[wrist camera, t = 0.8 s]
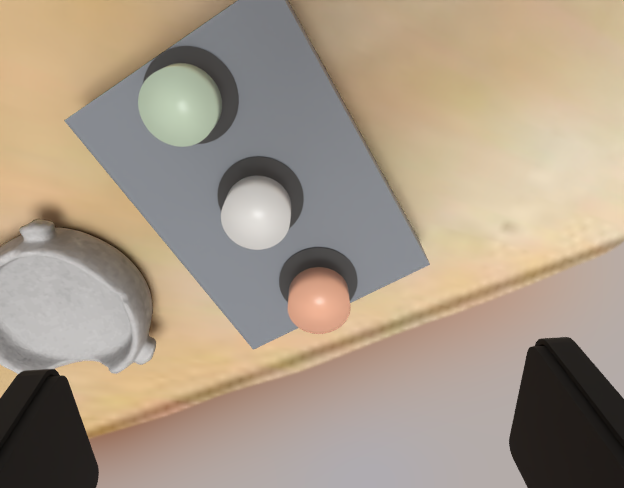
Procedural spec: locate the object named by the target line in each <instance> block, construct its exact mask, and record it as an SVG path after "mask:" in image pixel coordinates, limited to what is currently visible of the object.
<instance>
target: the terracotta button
mask: <svg viewBox="0 0 624 488" xmlns="http://www.w3.org/2000/svg"><path fill="white" fill-rule="evenodd" d="M288 314H289V317H290V319H291V320H292V322H293V323H294V324H295V325H296V326H297V327H298V328H300V329H302V330H304V331H306V332H309V333H314V334H323V333H328V332H332V331H334V330H336V329H338V328H339V327H341V326H342V325H343V324H344V323H345V322H346V320H347V318H348V316H349V314H350V299H349V292H348V286H347V283H346V281H345V280H344V278H343V277H342V276H341V275H340V274H338V273H337V272H335V271H334V270H331V269H328V268H323V267H314V268H309V269H306V270H304V271H302V272H300V273H299V274H298V275H297V276H296V277H295V278H294V279H293V280H292V282H291V284H290V287H289V296H288Z"/></svg>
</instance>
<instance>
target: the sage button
mask: <svg viewBox="0 0 624 488" xmlns="http://www.w3.org/2000/svg"><path fill="white" fill-rule="evenodd" d="M138 108H139V113H140V116H141V119H142V121H143V123H144V124H145V126H146V127H147V129H148V130H149V131H150V132H151V133H152V134H153V135H154V136H155V137H156V138H158V139H159V140H161V141H162V142H164V143H167V144H169V145H172V146H178V147H186V146H192V145H195V144H197V143H199V142H201V141H202V140H204V139H205V138H206V137H207V136H208V135H209V133H210V132H211V131H212V129H213V128H214V127H215V125H216V124H217V122H218V120H219V118H220V116H221V111H222V99H221V94H220V91H219V89H218V87H217V85H216V83H215V82H214V80H213V79H212V78H211V77H210V76H209V75H208V74H207V73H206V72H205V71H203V70H202V69H200V68H198V67H196V66H194V65H191V64H186V63H177V64H172V65H169V66H166V67H164V68H162V69H160V70H158V71H156V72H154V73H153V74H151V75H150V76H149V77H148V78H147V79H146V80H145V82H144V83H143V85H142V87H141V89H140V92H139V97H138Z"/></svg>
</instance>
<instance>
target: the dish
mask: <svg viewBox="0 0 624 488" xmlns="http://www.w3.org/2000/svg"><path fill="white" fill-rule="evenodd" d="M19 230H20V233H21V234H22V235H21V236H18V237H16V238H14V239H12V240H10V241H9V242H7V243H5V244H4V245H2V246H1V247H0V364H1V365H2V366H4V367H6V368H8V369H10V370H12V371H14V372H16V373H17V374H19V373H20V372H22V371H25V370H42V369H55V368H57V367H59V366H64V365H67V364H71V363H75V362H80V361H97V362H101V363H102V364H104V365H105V366H107V367H108V368H109V370H110V372H111V373H119V372H120V371H122V370H124V369H125V368H127V367H128V366H129V365H130V364H132V363H133V362H135V363H137V364H141V365H142V364H144V363H146V362H148V361H149V360H150V359H151V358H152V356H153V354H154V351H155V348H156V341H155V339H154V338H151V337H150V336H149V329H150V324H151V318H152V298H151V294H150V290H149V288H148V285H147V283H146V281H145V279H144V278H143V276H142V274H141V273H140V271H139V270H138V269H137V268H136V266H135V265H134V264H133V263H132V262H131V261H130V260H129V259H128V258H127V257H126V256H125V255H124V254H123V253H121V252H120V251H119V250H117V249H116V248H114V247H113V246H111V245H109V244H108V243H106V242H104V241H102V240H100V239H98V238H96V237H93V236H91V235H89V234H86V233H83V232H80V231H77V230H72V229H67V228H55V225H54V223H53V222H51V221H47V220H41V219H36V220H34V221H32V222H31V223H29V224H27V225H25V226H22V227H21V228H20V229H19Z"/></svg>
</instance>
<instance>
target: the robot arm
mask: <svg viewBox="0 0 624 488" xmlns="http://www.w3.org/2000/svg"><path fill="white" fill-rule="evenodd" d="M509 444H510V445H509V446H510V451H511V454H512V457H513V459H514V461H515V463H516V465H517V467H518V469H519V471H520V473H521V475H522V477H523V479H524V481H525V483H526V485H527V487H528V488H624V399H623V398H622V396H621V395H620V394H619V393H618V392H617V391H616V389H615V388H614V387H613V386H612V385H611V384H610V382H609V381H608V380H607V379H606V378H605V377H604V375H603V374H602V373H601V372H600V371H599V370H598V368H597V367H596V366H595V365H594V364H593V363H592V362H591V360H590V359H589V358H588V357H587V356H586V354H585V353H584V352H583V351H582V350H581V349H580V347H579V346H578V345H577V344H576V343H575V342H574V341H573V340H572V339H571V338H568V337H561V338H545V339H539V340H538V341H537V342H536V344H535V346H533V347H530V348H529V349H528V352H527V356H526V361H525V366H524V371H523V375H522V380H521V385H520V390H519V395H518V399H517V405H516V409H515V414H514V419H513V424H512V428H511V433H510V439H509ZM98 473H99V472H98V465H97V462H96V459H95V456H94V454H93V451H92V448H91V445H90V442H89V439H88V436H87V434H86V431H85V428H84V425H83V422H82V419H81V416H80V414H79V411H78V408H77V405H76V402H75V399H74V397H73V394H72V391H71V388H70V385H69V382H68V380H67V378H66V377H65V376H60V375H59V374H58V372H57V371H56V370H55V369H42V370H25V371H22V372H20V373H19V374H18V375H17V376H16V378H15V379H14V380H13V382H12V383H11V384H10V386H9V387H8V389H7V390H6V391H5V393H4V394H3V395H2V397H1V398H0V488H96V485H97V482H98Z"/></svg>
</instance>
